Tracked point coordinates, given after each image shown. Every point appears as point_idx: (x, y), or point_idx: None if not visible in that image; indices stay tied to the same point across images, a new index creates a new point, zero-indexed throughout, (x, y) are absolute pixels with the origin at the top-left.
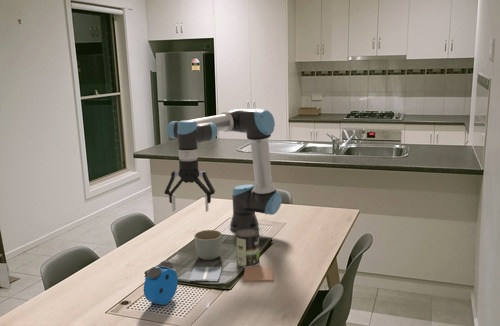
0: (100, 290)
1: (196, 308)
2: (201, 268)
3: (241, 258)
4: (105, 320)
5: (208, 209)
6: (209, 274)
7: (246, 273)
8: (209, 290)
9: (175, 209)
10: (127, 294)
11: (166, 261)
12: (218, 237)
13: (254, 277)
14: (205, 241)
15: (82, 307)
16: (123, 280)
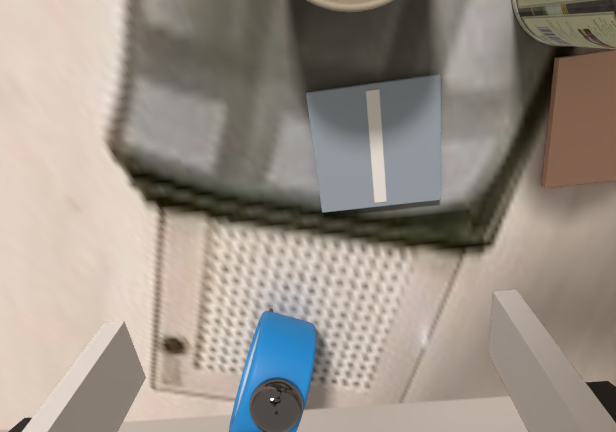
0: (51, 295)
1: (392, 354)
2: (345, 104)
3: (562, 41)
4: (176, 415)
5: (517, 292)
6: (394, 159)
7: (562, 128)
8: (413, 260)
9: (125, 330)
10: (151, 308)
11: (278, 427)
12: None
13: (595, 162)
14: (357, 11)
15: None
16: (75, 226)
